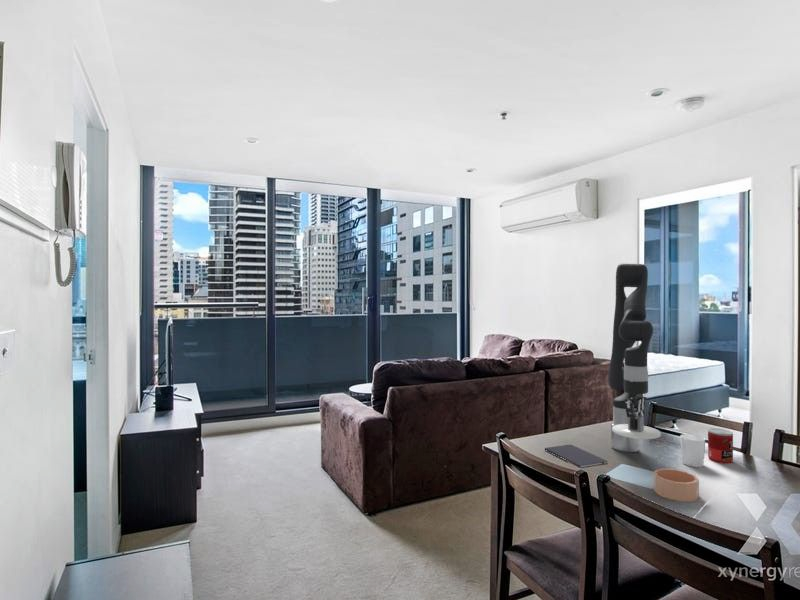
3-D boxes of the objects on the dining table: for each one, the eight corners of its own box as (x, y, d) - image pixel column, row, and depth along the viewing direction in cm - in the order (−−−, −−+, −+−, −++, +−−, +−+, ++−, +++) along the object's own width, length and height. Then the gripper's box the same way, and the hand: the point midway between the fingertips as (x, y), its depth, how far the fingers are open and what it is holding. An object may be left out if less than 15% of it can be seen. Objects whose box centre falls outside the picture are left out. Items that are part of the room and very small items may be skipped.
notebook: (544, 451, 192) (580, 470, 172) (544, 447, 192) (580, 465, 172) (570, 448, 196) (608, 465, 176) (570, 444, 196) (608, 461, 176)
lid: (604, 432, 164) (604, 415, 164) (622, 423, 174) (622, 408, 174) (651, 442, 153) (651, 424, 153) (667, 432, 163) (667, 415, 163)
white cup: (709, 468, 170) (709, 441, 170) (685, 467, 172) (685, 439, 172) (700, 461, 178) (699, 434, 178) (677, 459, 179) (676, 433, 179)
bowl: (648, 494, 149) (648, 475, 149) (661, 483, 158) (661, 465, 158) (691, 506, 141) (691, 486, 141) (702, 494, 149) (702, 475, 149)
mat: (603, 476, 164) (603, 475, 164) (621, 464, 175) (621, 463, 175) (652, 490, 152) (652, 489, 152) (669, 476, 163) (669, 475, 163)
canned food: (725, 465, 173) (725, 435, 173) (703, 458, 180) (703, 429, 180) (737, 461, 177) (737, 432, 177) (715, 455, 184) (715, 427, 184)
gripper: (632, 374, 171) (632, 422, 171) (616, 379, 161) (616, 430, 161) (654, 377, 165) (654, 426, 165) (639, 382, 155) (639, 435, 156)
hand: (635, 428), depth 163 cm, fingers closed on lid, 3 cm apart
